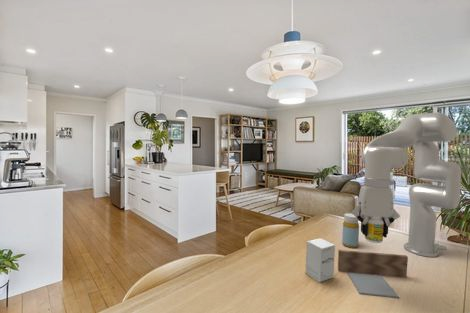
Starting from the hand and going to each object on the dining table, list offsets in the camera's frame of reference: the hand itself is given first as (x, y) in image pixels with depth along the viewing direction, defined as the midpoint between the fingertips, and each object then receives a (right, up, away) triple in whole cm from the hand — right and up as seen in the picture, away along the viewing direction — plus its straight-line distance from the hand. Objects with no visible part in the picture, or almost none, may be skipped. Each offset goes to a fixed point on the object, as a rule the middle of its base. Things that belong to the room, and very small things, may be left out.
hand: (373, 234), depth 82 cm
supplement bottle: (0, -2, 0) cm, 2 cm away
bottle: (+8, -16, +33) cm, 38 cm away
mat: (0, -18, +1) cm, 18 cm away
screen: (+4, -18, +9) cm, 20 cm away
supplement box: (-17, -18, +7) cm, 25 cm away
